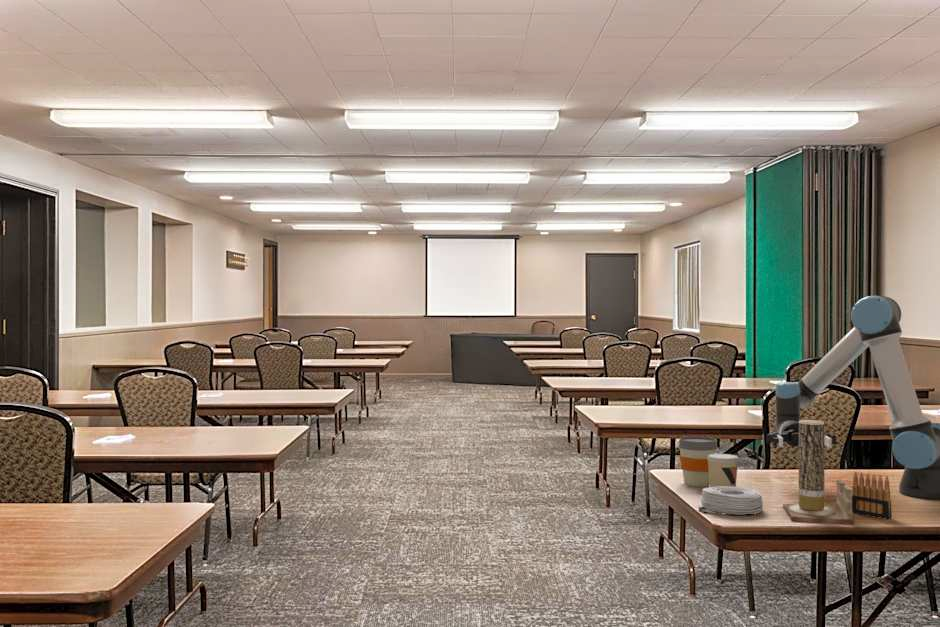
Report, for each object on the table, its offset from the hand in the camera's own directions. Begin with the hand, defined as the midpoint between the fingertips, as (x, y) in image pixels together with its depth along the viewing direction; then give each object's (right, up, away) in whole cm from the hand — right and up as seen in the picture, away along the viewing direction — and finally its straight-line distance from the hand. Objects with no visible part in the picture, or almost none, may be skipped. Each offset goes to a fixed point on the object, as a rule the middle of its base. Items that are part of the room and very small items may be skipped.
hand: (806, 443), depth 246 cm
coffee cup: (-19, -19, +18) cm, 33 cm away
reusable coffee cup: (-23, -19, +33) cm, 45 cm away
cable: (-23, -19, -3) cm, 30 cm away
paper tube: (-3, -17, -10) cm, 20 cm away
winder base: (-1, -19, -11) cm, 22 cm away
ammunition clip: (+14, -19, -11) cm, 26 cm away
